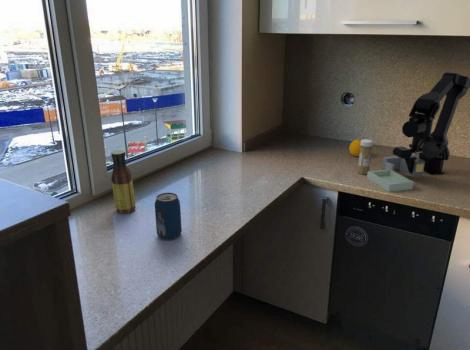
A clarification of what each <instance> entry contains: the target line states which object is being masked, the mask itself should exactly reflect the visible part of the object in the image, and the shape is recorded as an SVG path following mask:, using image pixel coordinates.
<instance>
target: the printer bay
mask: <svg viewBox="0 0 470 350" xmlns="http://www.w3.org/2000/svg"><path fill="white" fill-rule="evenodd" d="M401 161H402V158H400V157H398V156H396V155H391V156H383V158H382V166H381V168H382V169H381V170H389V169H391V170H393V171H394V172H395V170H400V168H401Z"/></svg>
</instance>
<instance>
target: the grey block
mask: <svg viewBox="0 0 470 350" xmlns="http://www.w3.org/2000/svg"><path fill="white" fill-rule="evenodd" d="M415 157H416V158H417V159H416V160H415V161H414V166H413V171H412V173H409V170H408V167H407V164H406V161H405V159H404V158H402V161H401V168H400V169H399V171H401V172H403V173H405V174H406V175H409V176H410V177H413V178H418V177H423V176H424V172H425V171H424V165H425V161H424V160H422V159H419V157H417V156H415Z"/></svg>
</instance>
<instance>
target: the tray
mask: <svg viewBox="0 0 470 350" xmlns="http://www.w3.org/2000/svg"><path fill="white" fill-rule="evenodd" d="M366 179H367V180H369V181H370V182H372V183H373V184H375V185H377V186H379V187H380V188H382V189H383V190H385V191H386V192H387V193H392V192H398V191H408V190H409V191H410V190H413V189H414V183H415V181H413V180H411V179H410V178H407V177H405V176H404V175H402V174H400V173H398V172H397V171H395V170H394V171H393V170H391V169H389V170H384V169H379V170H378V169H377V170H371V171H370V170H369V171H368V173H367V174H366Z"/></svg>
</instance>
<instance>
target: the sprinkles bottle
mask: <svg viewBox="0 0 470 350" xmlns="http://www.w3.org/2000/svg"><path fill="white" fill-rule="evenodd" d="M360 140H361V144H360V145H361V148H360V155H359V156H358V164H357V165H358V166H357V167H358V168H357V173H358V174H359V175H367V173H368V171H370V166H371V160H372V159H371V158H372V148H373V144H374V143H373V142H374V141H373V140H372V139H365V138H364V139H360Z"/></svg>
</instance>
